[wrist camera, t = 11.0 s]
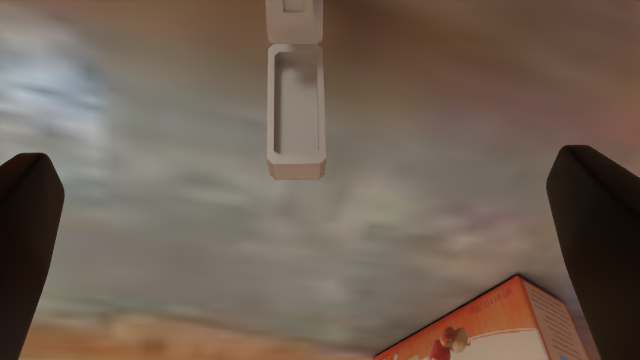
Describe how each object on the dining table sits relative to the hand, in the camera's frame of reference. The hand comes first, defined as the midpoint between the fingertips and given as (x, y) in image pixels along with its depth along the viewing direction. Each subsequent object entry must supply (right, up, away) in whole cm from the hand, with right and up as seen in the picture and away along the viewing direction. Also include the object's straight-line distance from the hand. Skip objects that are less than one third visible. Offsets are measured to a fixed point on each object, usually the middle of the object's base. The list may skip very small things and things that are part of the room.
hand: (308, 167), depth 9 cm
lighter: (-1, +8, +10) cm, 13 cm away
